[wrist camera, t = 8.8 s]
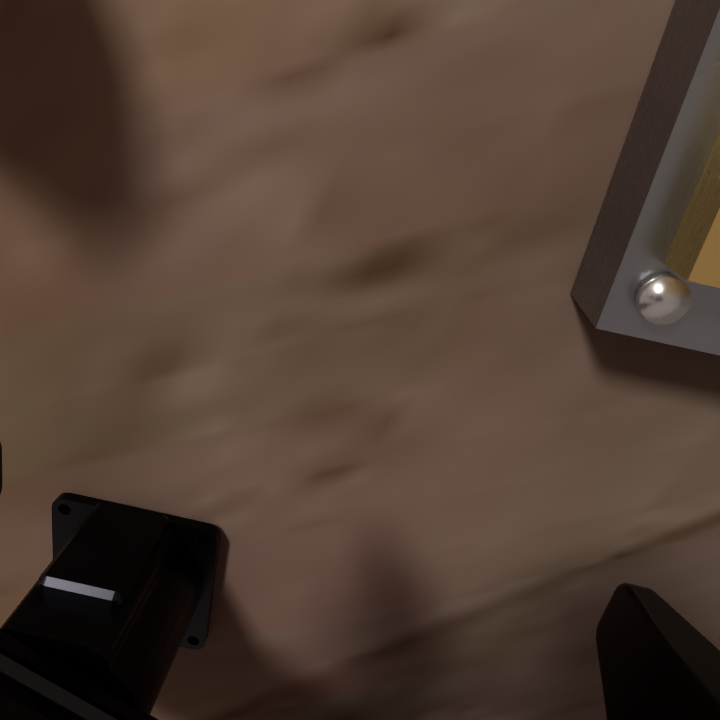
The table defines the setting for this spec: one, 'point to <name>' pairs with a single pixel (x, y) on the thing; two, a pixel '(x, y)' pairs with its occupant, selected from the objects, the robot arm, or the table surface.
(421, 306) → the table surface
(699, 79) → the grey gold-framed plate fixture
